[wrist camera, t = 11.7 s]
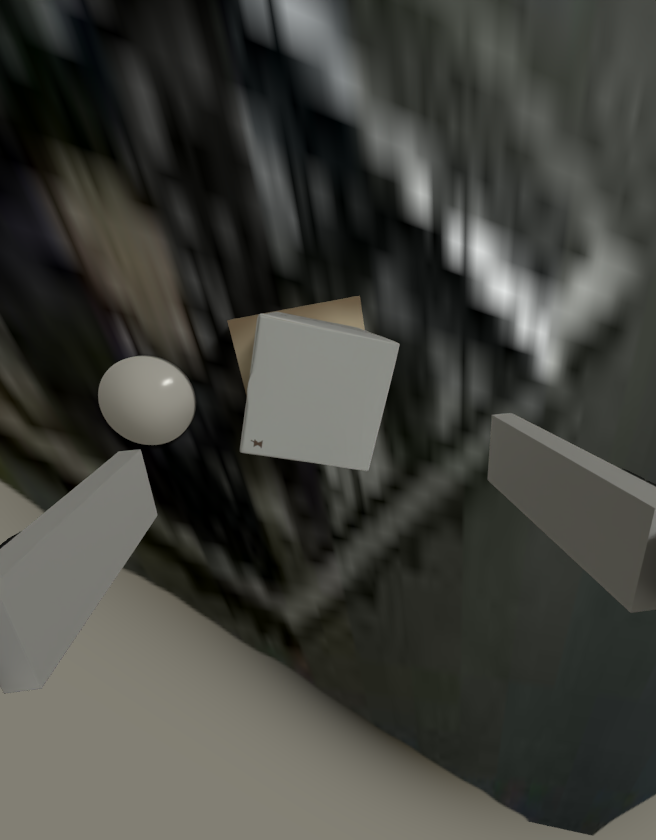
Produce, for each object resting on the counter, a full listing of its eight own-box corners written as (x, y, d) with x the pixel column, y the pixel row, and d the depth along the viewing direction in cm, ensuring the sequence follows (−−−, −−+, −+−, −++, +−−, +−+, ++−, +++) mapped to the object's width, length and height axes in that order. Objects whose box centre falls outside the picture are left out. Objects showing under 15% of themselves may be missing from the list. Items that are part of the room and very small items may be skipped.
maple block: (236, 318, 40) (227, 320, 35) (352, 297, 40) (359, 295, 35) (263, 428, 44) (258, 444, 39) (369, 408, 44) (377, 421, 39)
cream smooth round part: (93, 359, 39) (86, 361, 38) (186, 351, 39) (183, 352, 38) (116, 445, 42) (111, 449, 41) (203, 436, 43) (201, 440, 41)
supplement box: (344, 413, 38) (370, 477, 24) (259, 398, 37) (235, 457, 23) (363, 327, 36) (405, 342, 22) (273, 308, 35) (255, 311, 20)
